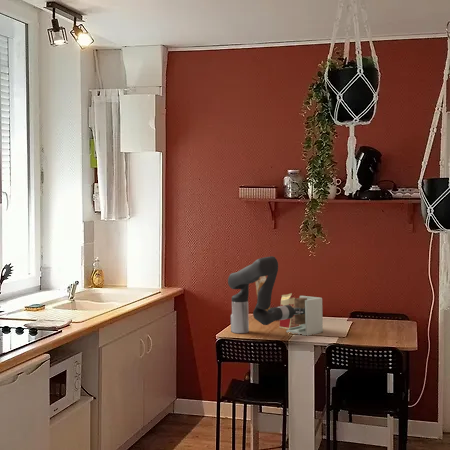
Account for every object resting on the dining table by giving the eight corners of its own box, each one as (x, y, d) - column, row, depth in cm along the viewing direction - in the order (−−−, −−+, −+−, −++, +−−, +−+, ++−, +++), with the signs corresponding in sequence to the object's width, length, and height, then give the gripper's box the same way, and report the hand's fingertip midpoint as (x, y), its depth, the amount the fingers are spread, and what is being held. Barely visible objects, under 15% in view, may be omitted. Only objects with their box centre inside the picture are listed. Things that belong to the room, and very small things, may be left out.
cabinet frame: (286, 332, 395) (285, 298, 395) (301, 329, 404) (301, 295, 404) (307, 335, 384) (306, 300, 384) (322, 332, 393) (322, 297, 393)
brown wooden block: (294, 323, 396) (294, 298, 395) (301, 322, 400) (301, 297, 400) (300, 324, 393) (299, 299, 393) (307, 323, 397) (307, 298, 397)
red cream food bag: (299, 327, 410) (299, 292, 410) (289, 329, 404) (289, 294, 403) (287, 325, 417) (286, 291, 416) (277, 327, 410) (276, 293, 409)
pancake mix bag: (251, 320, 437) (250, 274, 436) (265, 315, 453) (264, 271, 452) (261, 321, 433) (260, 275, 432) (274, 316, 450) (274, 271, 449)
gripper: (293, 306, 381) (314, 303, 393) (273, 304, 391) (294, 301, 403) (293, 320, 381) (314, 317, 393) (273, 318, 392) (294, 314, 403)
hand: (304, 309), depth 398 cm, fingers closed on brown wooden block, 4 cm apart
